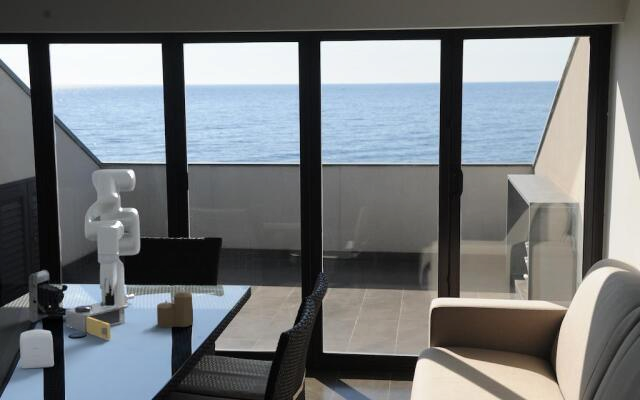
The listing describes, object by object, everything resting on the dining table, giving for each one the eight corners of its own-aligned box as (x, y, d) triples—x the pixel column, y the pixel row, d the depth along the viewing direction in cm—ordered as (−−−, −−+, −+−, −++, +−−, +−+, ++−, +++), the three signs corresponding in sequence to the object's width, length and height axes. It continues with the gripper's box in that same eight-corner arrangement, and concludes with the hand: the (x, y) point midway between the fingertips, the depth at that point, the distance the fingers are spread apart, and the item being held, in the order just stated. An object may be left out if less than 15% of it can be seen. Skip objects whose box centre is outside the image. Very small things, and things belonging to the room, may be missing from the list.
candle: (200, 321, 316) (199, 284, 315) (184, 329, 304) (183, 291, 302) (170, 318, 321) (169, 282, 319) (153, 326, 308) (152, 289, 306)
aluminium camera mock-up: (105, 317, 322) (104, 298, 321) (124, 322, 314) (124, 303, 313) (66, 326, 309) (65, 307, 308) (85, 332, 300) (85, 312, 299)
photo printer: (19, 369, 256) (18, 332, 255) (22, 365, 261) (20, 329, 259) (52, 367, 258) (51, 331, 257) (54, 363, 262) (53, 327, 261)
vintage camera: (63, 325, 312) (64, 275, 310) (28, 322, 315) (28, 272, 313) (76, 319, 321) (76, 271, 319) (41, 316, 324) (41, 268, 322)
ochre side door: (111, 339, 289) (110, 322, 289) (105, 341, 288) (104, 323, 287) (87, 331, 301) (87, 314, 300) (82, 332, 299) (81, 315, 298)
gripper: (101, 253, 302) (103, 299, 304) (94, 262, 287) (96, 311, 290) (121, 252, 302) (123, 299, 305) (115, 262, 288) (117, 310, 290)
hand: (110, 305), depth 297 cm, fingers closed
